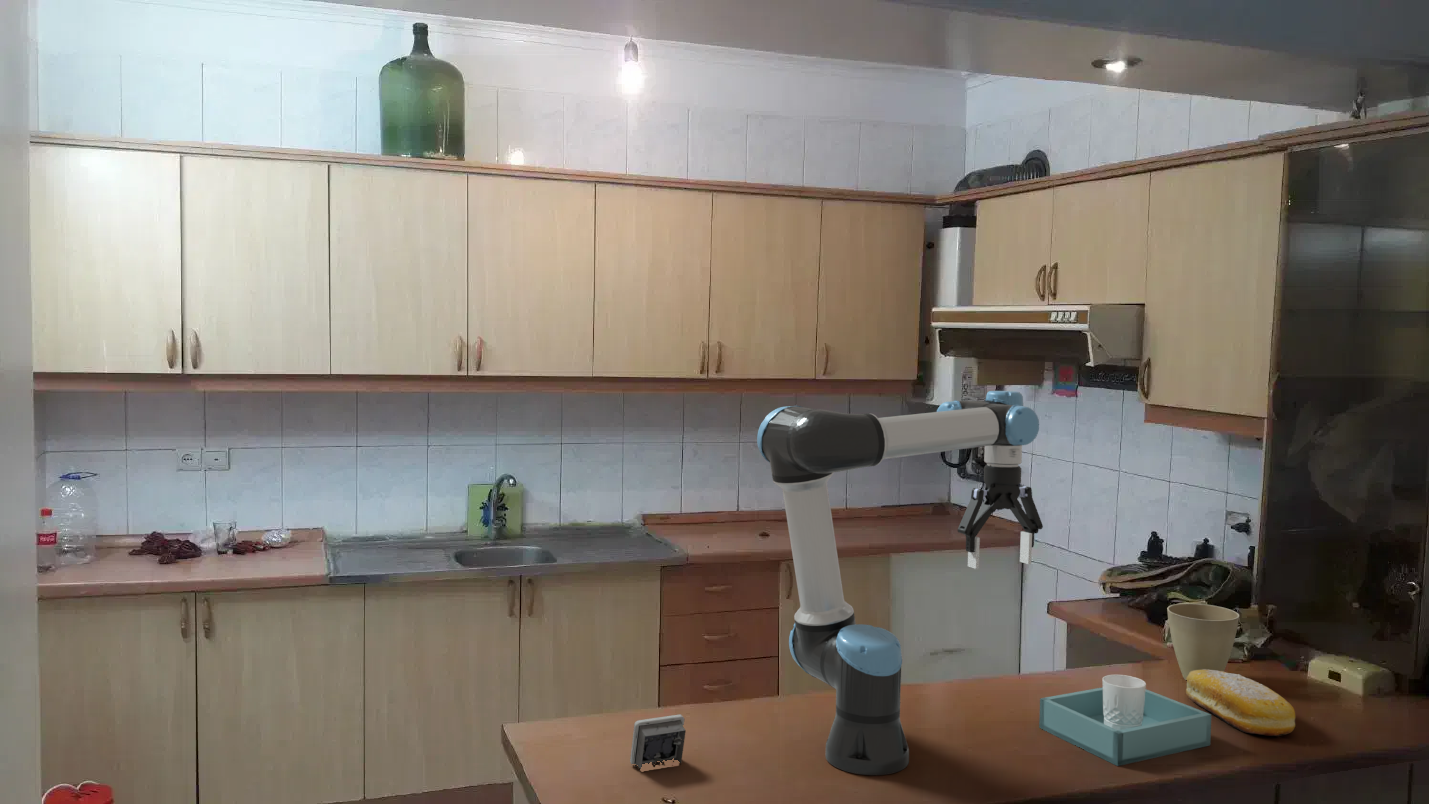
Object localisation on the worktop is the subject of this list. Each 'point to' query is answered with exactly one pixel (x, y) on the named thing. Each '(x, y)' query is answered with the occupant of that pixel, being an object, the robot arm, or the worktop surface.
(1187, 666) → the plant pot
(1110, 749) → the walled box
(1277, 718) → the bread
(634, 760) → the electrical switch
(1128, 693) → the white cup
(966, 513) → the robot arm
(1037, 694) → the worktop surface
